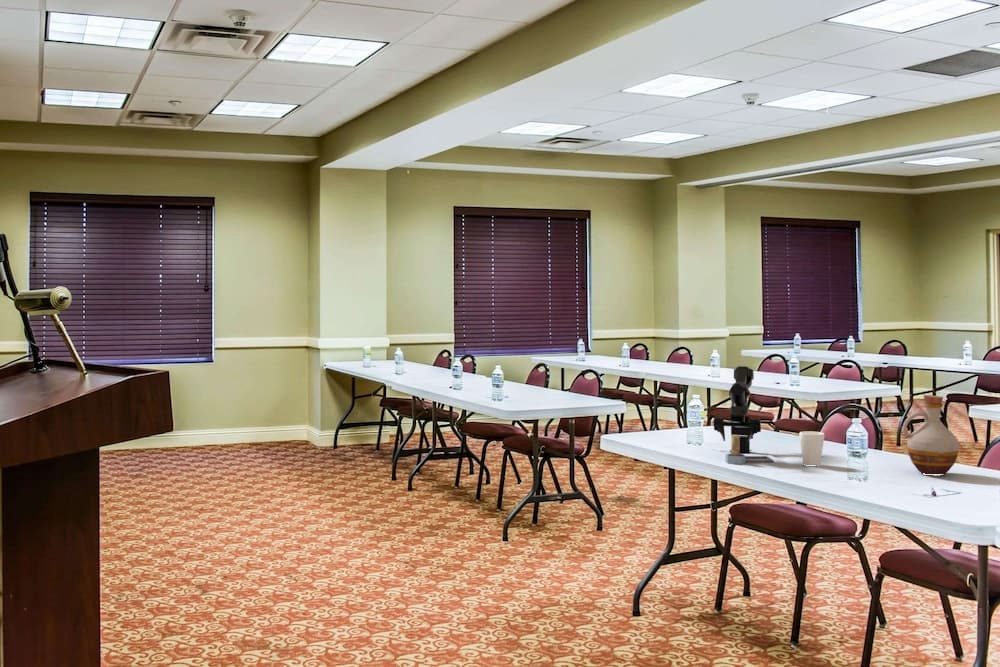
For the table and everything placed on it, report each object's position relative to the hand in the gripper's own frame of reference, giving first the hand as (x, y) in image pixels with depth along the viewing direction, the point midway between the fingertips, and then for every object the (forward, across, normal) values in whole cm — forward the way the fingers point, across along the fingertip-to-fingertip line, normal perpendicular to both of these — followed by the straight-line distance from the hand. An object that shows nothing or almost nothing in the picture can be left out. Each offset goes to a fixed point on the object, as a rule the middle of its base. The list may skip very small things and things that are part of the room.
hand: (735, 441), depth 370 cm
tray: (+2, +8, +11) cm, 14 cm away
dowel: (+7, 0, +5) cm, 9 cm away
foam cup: (+2, +29, +11) cm, 31 cm away
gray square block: (+8, 0, +5) cm, 10 cm away
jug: (+7, +72, +7) cm, 72 cm away
